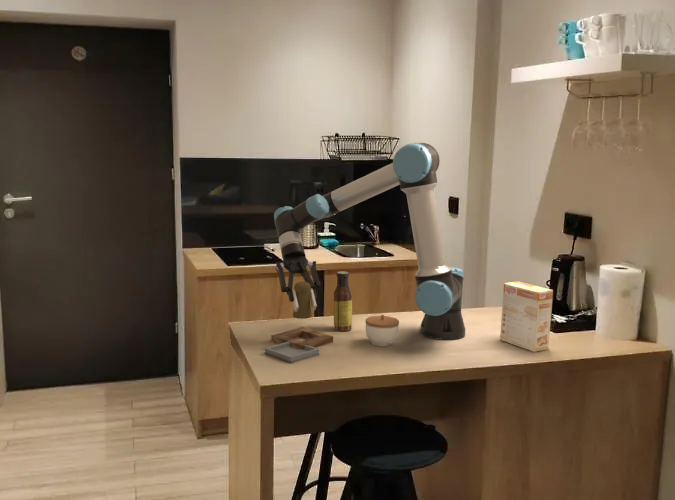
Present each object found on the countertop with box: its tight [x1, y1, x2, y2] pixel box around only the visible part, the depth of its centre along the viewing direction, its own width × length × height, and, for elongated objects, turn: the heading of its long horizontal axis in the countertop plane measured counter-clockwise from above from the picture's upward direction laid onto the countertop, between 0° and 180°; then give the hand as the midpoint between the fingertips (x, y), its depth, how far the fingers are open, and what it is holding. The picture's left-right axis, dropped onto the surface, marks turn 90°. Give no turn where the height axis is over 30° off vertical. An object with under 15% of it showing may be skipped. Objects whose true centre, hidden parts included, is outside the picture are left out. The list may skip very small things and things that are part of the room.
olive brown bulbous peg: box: [292, 281, 313, 320], centre depth 224 cm, size 6×6×11 cm
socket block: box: [270, 326, 334, 350], centre depth 226 cm, size 14×14×2 cm
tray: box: [264, 342, 320, 364], centre depth 214 cm, size 12×12×2 cm
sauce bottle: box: [333, 270, 353, 332], centre depth 240 cm, size 6×6×20 cm
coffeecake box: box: [499, 281, 554, 353], centre depth 229 cm, size 15×7×20 cm, turn 33°
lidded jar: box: [365, 314, 400, 347], centre depth 227 cm, size 11×11×9 cm
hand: (305, 308), depth 221 cm, fingers closed on olive brown bulbous peg, 5 cm apart
